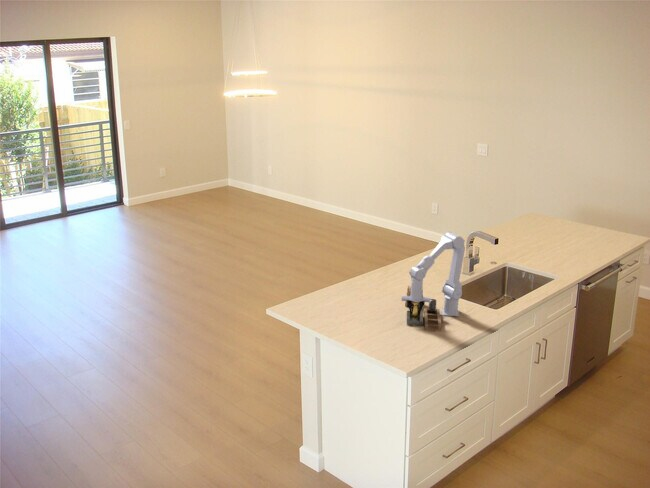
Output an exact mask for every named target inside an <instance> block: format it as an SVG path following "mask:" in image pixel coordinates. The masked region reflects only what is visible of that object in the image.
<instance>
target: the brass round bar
mask: <svg viewBox="0 0 650 488" xmlns="http://www.w3.org/2000/svg"><path fill="white" fill-rule="evenodd" d="M418 314H419V304H418V303H412V315H411V318H418Z"/></svg>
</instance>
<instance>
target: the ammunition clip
mask: <svg viewBox="0 0 650 488" xmlns="http://www.w3.org/2000/svg"><path fill="white" fill-rule="evenodd" d="M423 288H424V287H423V285H422V297H424V295H423V291H424V290H423ZM410 295H411V286H409V285H408V286H407V291H406V296H410ZM412 303H418V304H419V302H414V301H412ZM404 304H405V305H404V307H405V308H408V309H409V307H408V305H407V301H405V303H404Z"/></svg>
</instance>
